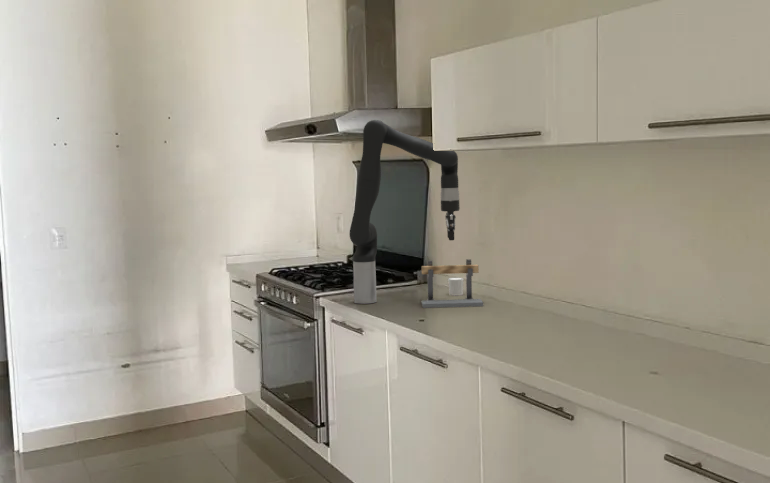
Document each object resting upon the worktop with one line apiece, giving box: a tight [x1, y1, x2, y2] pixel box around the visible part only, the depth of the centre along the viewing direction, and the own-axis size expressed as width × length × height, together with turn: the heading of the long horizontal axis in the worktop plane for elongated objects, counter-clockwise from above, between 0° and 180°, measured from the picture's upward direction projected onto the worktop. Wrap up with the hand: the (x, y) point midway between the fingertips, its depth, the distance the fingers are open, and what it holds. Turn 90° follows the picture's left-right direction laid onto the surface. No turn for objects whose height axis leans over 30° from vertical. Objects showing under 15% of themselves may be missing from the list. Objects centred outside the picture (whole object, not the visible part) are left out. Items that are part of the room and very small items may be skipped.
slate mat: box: [421, 298, 484, 309], centre depth 305 cm, size 24×8×2 cm, turn 90°
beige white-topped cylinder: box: [447, 277, 465, 297], centre depth 329 cm, size 7×7×7 cm
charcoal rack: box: [426, 258, 474, 300], centre depth 312 cm, size 19×6×17 cm, turn 90°
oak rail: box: [421, 264, 479, 275], centre depth 311 cm, size 23×3×3 cm, turn 90°
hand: (450, 239), depth 308 cm, fingers open, 8 cm apart
